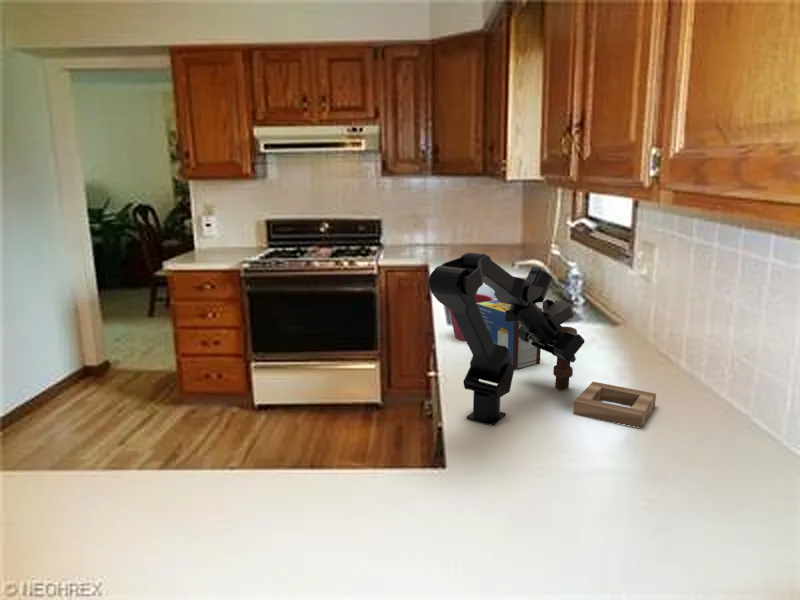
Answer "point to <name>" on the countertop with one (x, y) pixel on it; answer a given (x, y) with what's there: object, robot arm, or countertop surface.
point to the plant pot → (457, 331)
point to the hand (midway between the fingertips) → (568, 358)
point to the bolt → (563, 367)
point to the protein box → (508, 334)
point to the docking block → (633, 416)
